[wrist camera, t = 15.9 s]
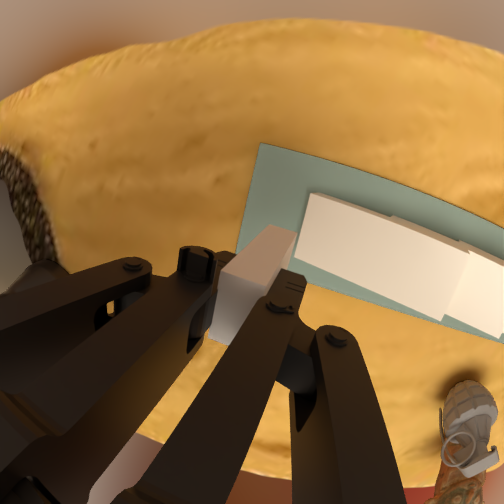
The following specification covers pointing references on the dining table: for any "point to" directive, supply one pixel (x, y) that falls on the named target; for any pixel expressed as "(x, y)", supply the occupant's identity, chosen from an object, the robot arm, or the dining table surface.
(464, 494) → the figurine
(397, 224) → the domino
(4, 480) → the robot arm
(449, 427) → the hand grenade
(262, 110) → the dining table surface
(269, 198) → the strip
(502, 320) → the domino
